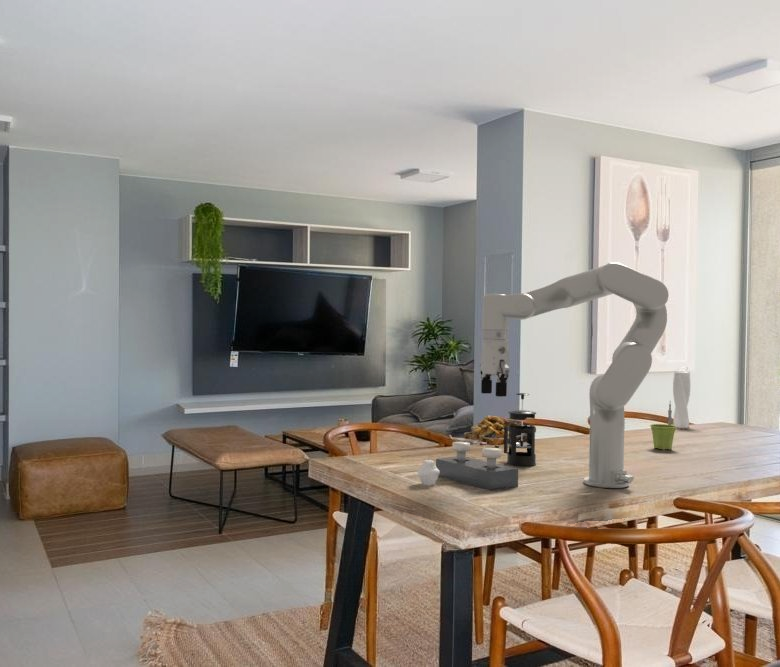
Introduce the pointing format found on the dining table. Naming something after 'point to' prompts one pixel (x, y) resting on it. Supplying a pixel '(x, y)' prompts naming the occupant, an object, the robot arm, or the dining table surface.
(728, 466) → the dining table surface
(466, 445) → the knob
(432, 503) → the dining table surface
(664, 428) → the plant pot
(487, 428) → the food tray
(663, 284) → the robot arm
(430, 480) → the white ribbed round lump
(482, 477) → the mount
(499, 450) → the knob
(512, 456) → the french press
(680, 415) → the skyscraper
